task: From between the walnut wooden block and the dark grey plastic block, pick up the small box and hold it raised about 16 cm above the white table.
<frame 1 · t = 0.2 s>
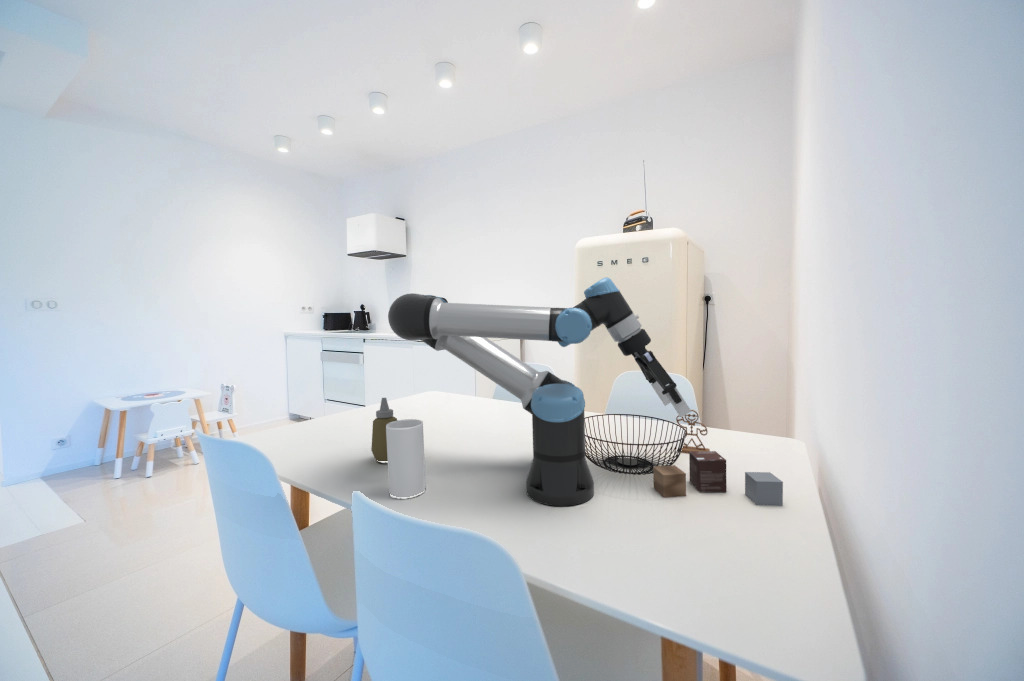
hand: (677, 408, 99), 16 cm above the table, tool tilted 30°, fingers open, 13 cm apart
grey block: (763, 500, 84), on the table
box: (707, 488, 91), on the table
cup: (407, 492, 94), on the table
walnut block: (669, 492, 89), on the table
squeeze bottle: (387, 461, 115), on the table
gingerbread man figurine: (691, 452, 114), on the table
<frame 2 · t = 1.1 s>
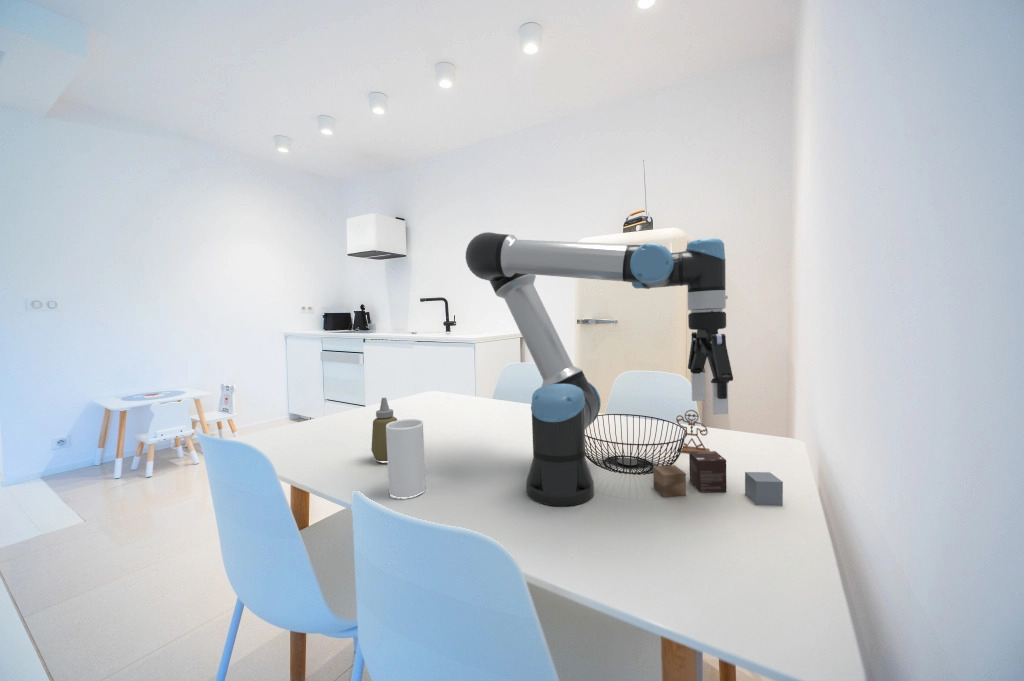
hand: (708, 406, 90), 18 cm above the table, tool pointing down, fingers open, 13 cm apart
nothing on the table moved.
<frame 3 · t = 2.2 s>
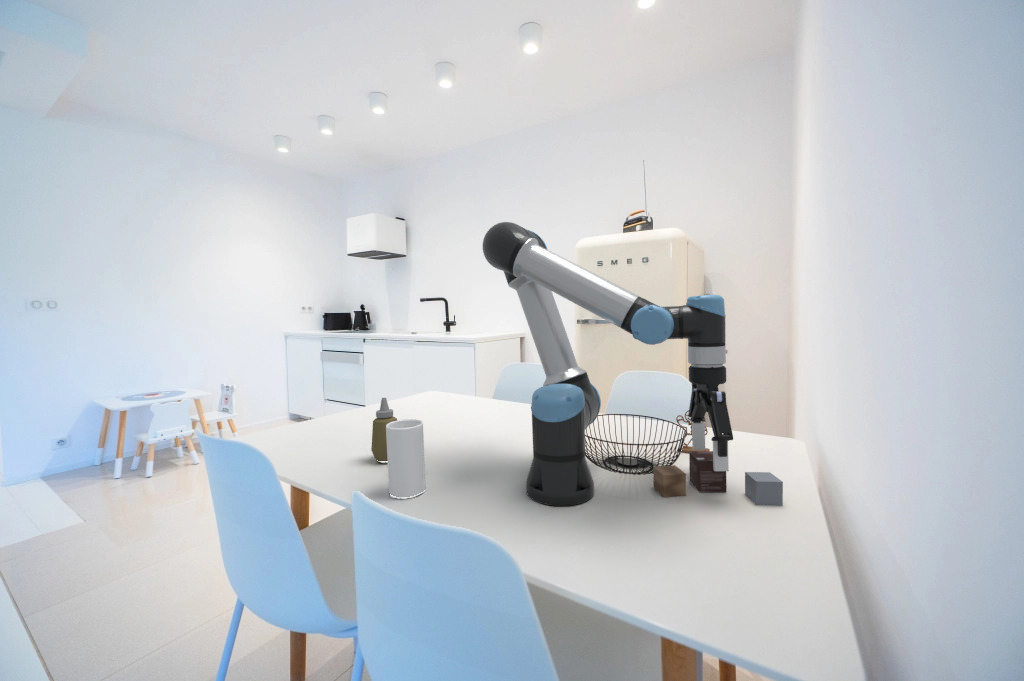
hand: (709, 459, 91), 6 cm above the table, tool pointing down, fingers open, 13 cm apart
nothing on the table moved.
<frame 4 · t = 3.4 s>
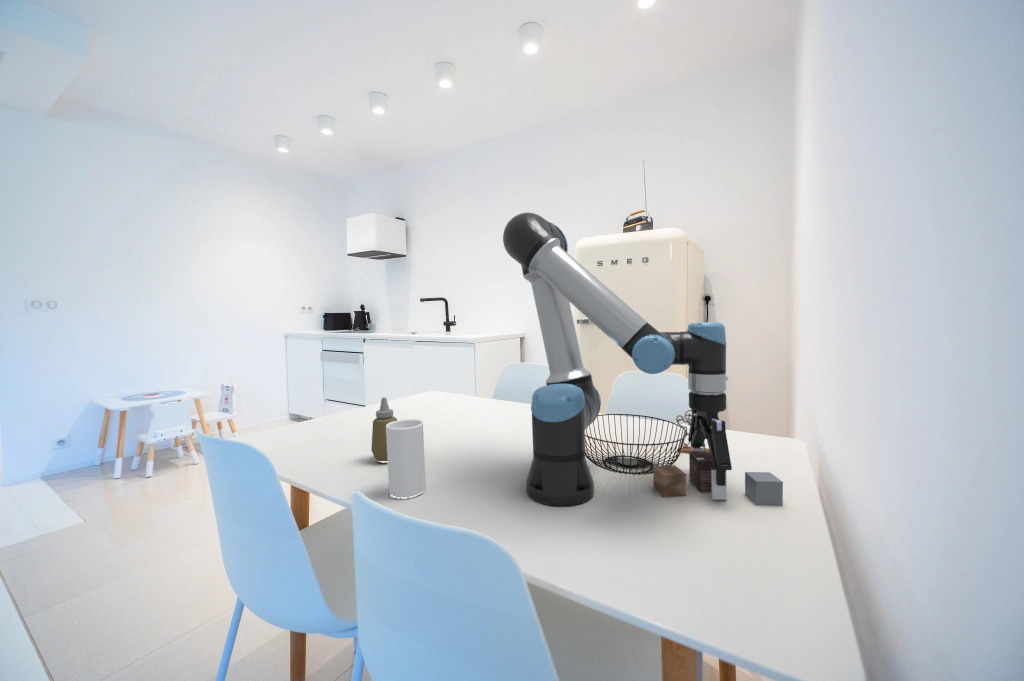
hand: (707, 486, 91), 0 cm above the table, tool pointing down, fingers open, 12 cm apart
nothing on the table moved.
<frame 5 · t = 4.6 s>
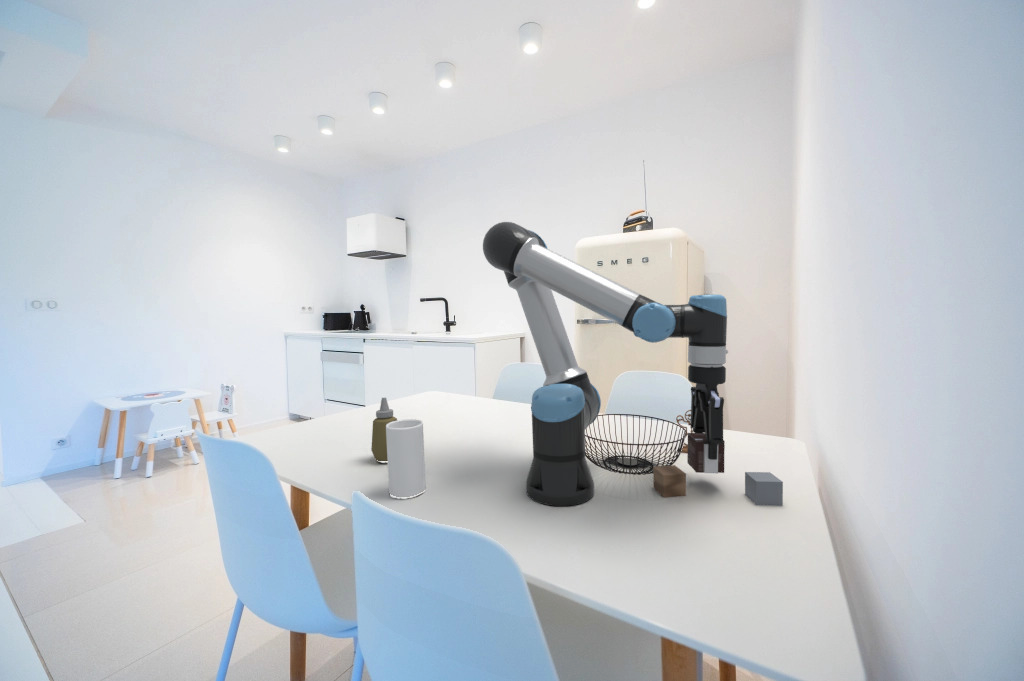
hand: (705, 466, 91), 5 cm above the table, tool pointing down, fingers closed on box, 6 cm apart
box: (705, 469, 91), point 4 cm above the table, touching gripper
everything else where it was.
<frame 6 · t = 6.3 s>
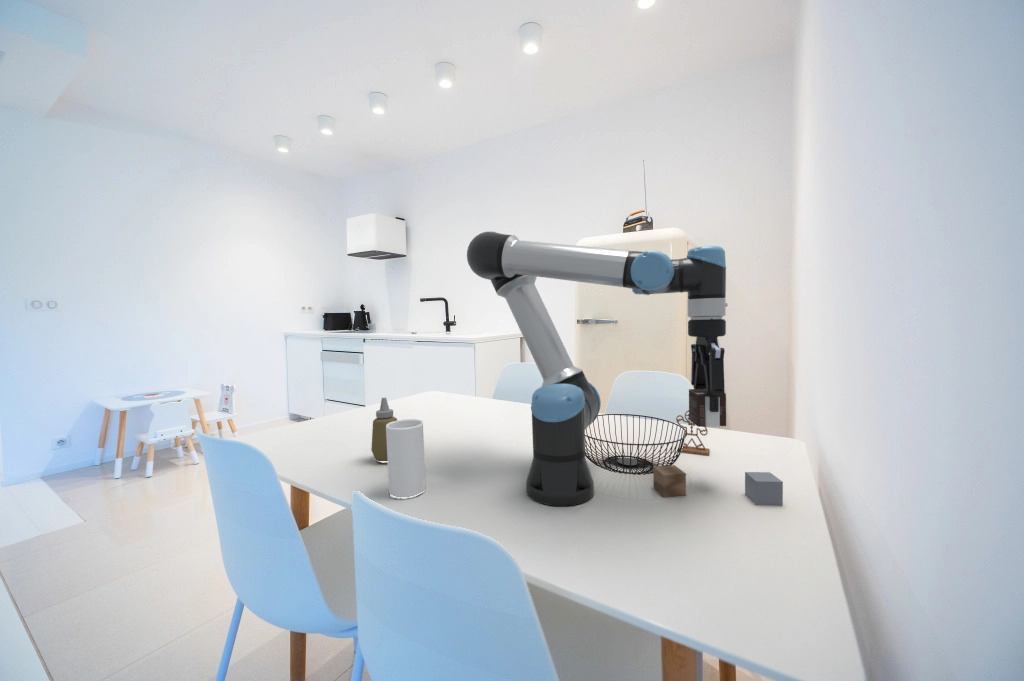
hand: (706, 421, 90), 15 cm above the table, tool pointing down, fingers closed on box, 6 cm apart
box: (707, 424, 90), point 14 cm above the table, touching gripper
everything else where it was.
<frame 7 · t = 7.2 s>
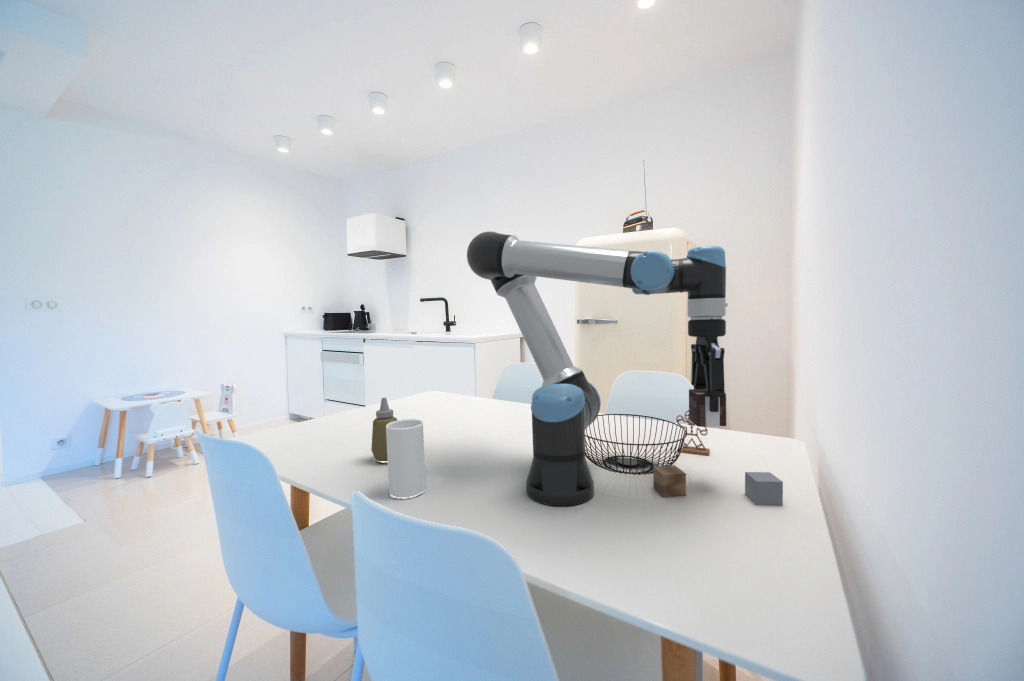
hand: (706, 421, 90), 15 cm above the table, tool pointing down, fingers closed on box, 6 cm apart
box: (707, 424, 90), point 14 cm above the table, touching gripper
everything else where it was.
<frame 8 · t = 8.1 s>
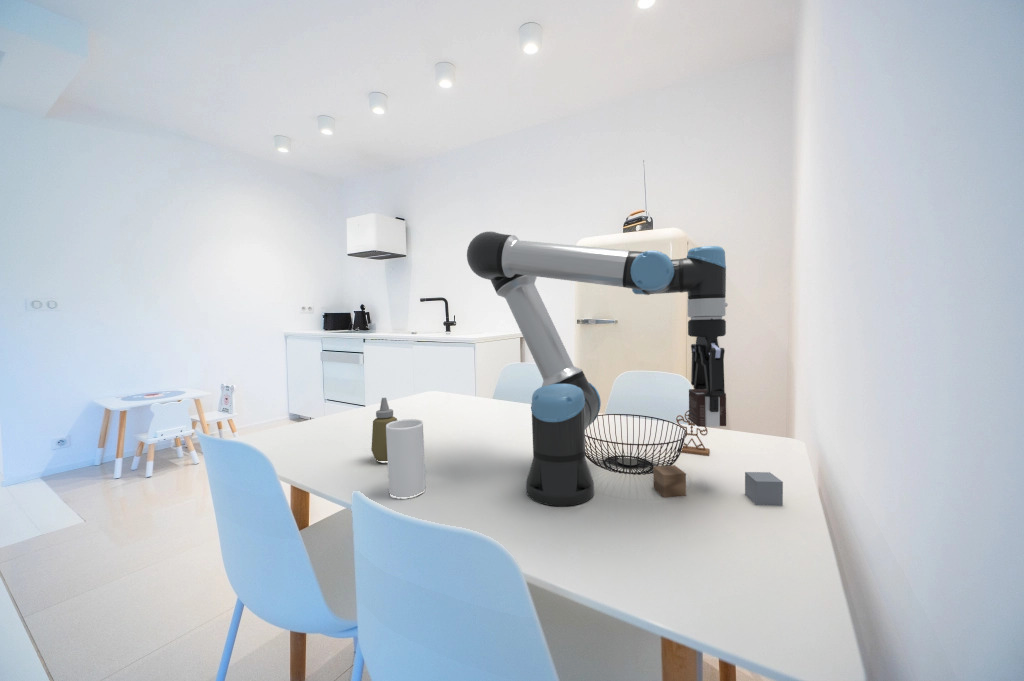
hand: (706, 421, 90), 15 cm above the table, tool pointing down, fingers closed on box, 6 cm apart
box: (707, 424, 90), point 14 cm above the table, touching gripper
everything else where it was.
at the end: box point 14.2 cm above the table; walnut block moved 0.1 cm from its start; grey block moved 0.1 cm from its start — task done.
